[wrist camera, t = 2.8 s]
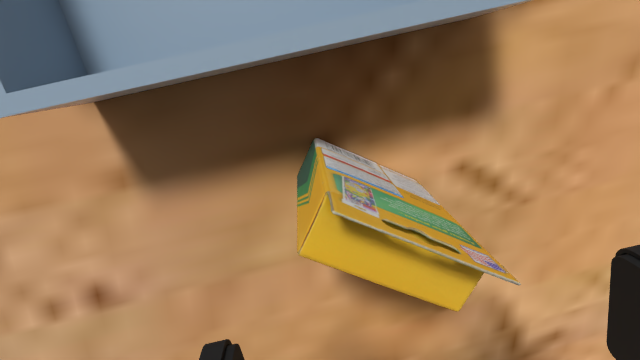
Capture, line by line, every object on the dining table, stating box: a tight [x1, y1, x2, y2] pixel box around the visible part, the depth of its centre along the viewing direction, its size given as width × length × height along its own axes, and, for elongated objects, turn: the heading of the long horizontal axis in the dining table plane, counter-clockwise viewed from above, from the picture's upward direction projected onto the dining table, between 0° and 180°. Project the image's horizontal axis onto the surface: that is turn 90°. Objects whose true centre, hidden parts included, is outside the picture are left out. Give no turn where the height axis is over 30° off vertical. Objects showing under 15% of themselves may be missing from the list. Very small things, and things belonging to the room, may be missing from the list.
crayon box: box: [297, 138, 521, 311], centre depth 18 cm, size 7×3×12 cm, turn 66°
